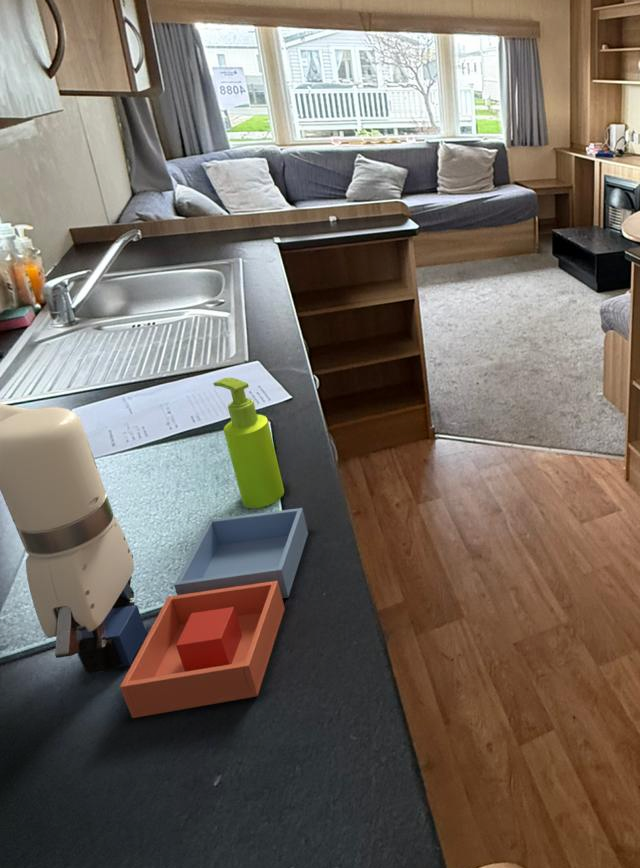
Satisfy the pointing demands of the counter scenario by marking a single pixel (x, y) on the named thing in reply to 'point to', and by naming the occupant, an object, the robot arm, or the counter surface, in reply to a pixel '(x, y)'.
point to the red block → (209, 639)
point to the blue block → (123, 632)
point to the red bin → (176, 689)
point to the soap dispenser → (251, 449)
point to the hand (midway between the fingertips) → (115, 648)
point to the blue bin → (246, 552)
